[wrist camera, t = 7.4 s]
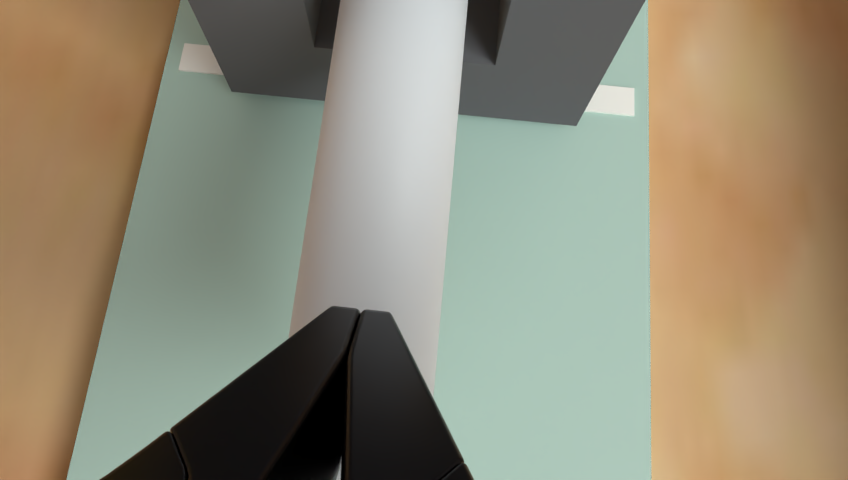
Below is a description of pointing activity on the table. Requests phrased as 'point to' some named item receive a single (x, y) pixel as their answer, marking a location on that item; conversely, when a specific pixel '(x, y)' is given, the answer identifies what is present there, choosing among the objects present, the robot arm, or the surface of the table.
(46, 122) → the table surface
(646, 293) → the pipe rig
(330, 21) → the grey arch frame
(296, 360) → the robot arm
